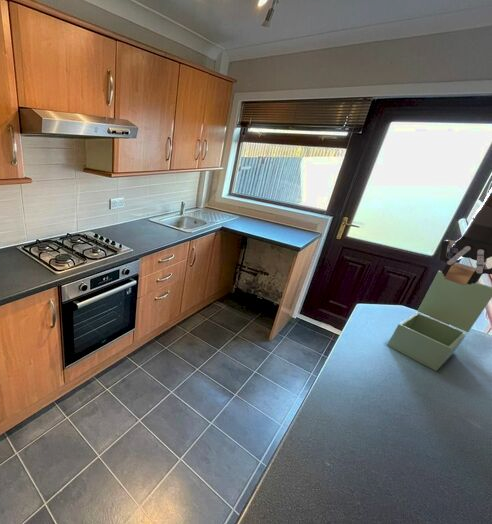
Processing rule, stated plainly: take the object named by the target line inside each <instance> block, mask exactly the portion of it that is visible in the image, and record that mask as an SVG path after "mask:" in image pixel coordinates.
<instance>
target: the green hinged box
mask: <svg viewBox="0 0 492 524" xmlns="http://www.w3.org/2000/svg"><path fill="white" fill-rule="evenodd" d="M467 335H468V332H466V331H463V330H461V329H459V328H456V327H454V326H451V325H447V324H444V323H442V322H440V321H437V320H435V319H433V318H430V316H428V315H425V314H423V313H420V312H418V311H416V312H415V313H413V314H412V315H410V316H408V318H406V319H404V320H403V321H401V322H400V323H398V324H397V326H396V328H395V330H394V332H393V333H392V335H391V337H390V339H389V340H388V343H387V345H386V346H387V347H389V348H392V349H394V350H396V351H398V352H400V353H401V354H403V355H405V356H407V357H409V358H411V359H413V360H415V361H417V362H418V363H420V364H422V365H424V366H426V367H428V368H430V369H432V370H434V371H436V372H437V371H438V370H439V369H440V368H441V367H442V366H443V365H444V364H445V363H446V362H447V361H448V360H449V359H450V358H451V357H452V356H453V355H454V353H455V352H456V351H457V349H458V348H459V346H460V345H461V343H462V342H463V341H464V339H465V337H466V336H467Z"/></svg>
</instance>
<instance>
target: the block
mask: <svg viewBox="0 0 492 524" xmlns="http://www.w3.org/2000/svg"><path fill="white" fill-rule="evenodd" d="M474 272H476V267H474V266H471V265H468V264H467V265H466V264H463V263H460V262H455V264H453V265H452V266H451V268H450V269H449V271H448V273H447V274H446V276H445V278H444V279H446V280H449V281H452V282H455V283H458V284H461V285H467V283H468V281H469V280H470V278H471V277H472V275H473V274H474Z"/></svg>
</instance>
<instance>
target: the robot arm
mask: <svg viewBox="0 0 492 524" xmlns="http://www.w3.org/2000/svg"><path fill="white" fill-rule="evenodd" d="M454 246H456V249H457V251H458V252H457V253H456V254H454V255H453V256H452V257H449V256H450V249H451V248H453V247H454ZM439 255H440V256H439V260H440V261H442V262H444V263H445V264H446V265H445V266H444V268H443V269H442V270H441V271H442V274H444V275H443V276H446V274H447V273H448V271H449V269H450V268H451V266H452V265H453V264H455V263H457V262H458V261H460V259H462V258H466V259H471V260H473V261H476V263H475V265H476V267H475V268H476V272H474V274H473V275H472V277H471V278H470V280H469V281H468V283H467V284H469V285H471V284H472V283H473V284H475V283H476V282H477V283H479V280H480V279H481V277H482V276H483V275H492V267H490V268H486V267H487V266H486V265H487V261H488V259H490V258H492V188H490V190H489V192H488V193H487V195H486V197H485V198H484V200H483V201H482V204H480V206H479V208H478V209H477V210H476V211H475V213H474V215H473V216H472V217H471V220H470V221H469V223H468V225H467V226H466V228H465V231H464V232H463V234H462V235H461V237H460V238H459V239H457V240H450V239H444V240H443V241H441V248H440V254H439Z"/></svg>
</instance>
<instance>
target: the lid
mask: <svg viewBox="0 0 492 524" xmlns="http://www.w3.org/2000/svg"><path fill="white" fill-rule="evenodd" d="M442 271H443V270H438V271H437V273H436V275H435V276H434V279H433V281H432V282H431V284H430V285H429V288H428V290H427V292H426V293H425V296H424V297H423V299H422V301H421V304H420V305H419V307H418V309H417V312H418V313H421V314H423V315H425V316H428V317H432V318H435V319H437V320H440V321H442V322H444V323H447V324H449V326H452V327H454V328H456V329H459V330H461V331H464V332H466V333H469V332H470V330H471V329H472V327H473V326H475V325H474V324H475V323H476V322H477V320H478V319H479V317H480V316H481V315H482V313H483V311H484V310H485V309H486V307H487V305H488V304H489V303H490V301H491V299H492V286H490V285H487V284H483V283H480V282H476V283H475V284H473V283H472V284H471V285H469V284H467V285H461V284H458V283H455V282H452V281H449V280H446V279H444V278H445V276H443V275H444V274H442Z"/></svg>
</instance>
